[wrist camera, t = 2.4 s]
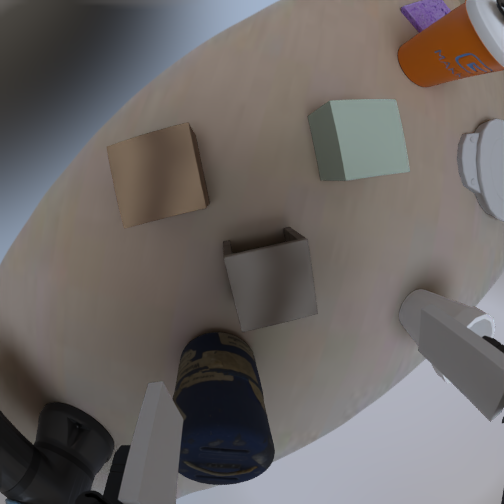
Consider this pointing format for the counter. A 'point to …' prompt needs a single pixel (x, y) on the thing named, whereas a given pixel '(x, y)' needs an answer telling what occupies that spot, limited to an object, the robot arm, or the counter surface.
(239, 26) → the counter surface
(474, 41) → the shaker bottle
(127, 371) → the counter surface
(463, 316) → the foam cup
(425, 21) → the sponges
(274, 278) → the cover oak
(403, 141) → the cover green
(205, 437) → the canister
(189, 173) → the cover walnut
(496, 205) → the lid
